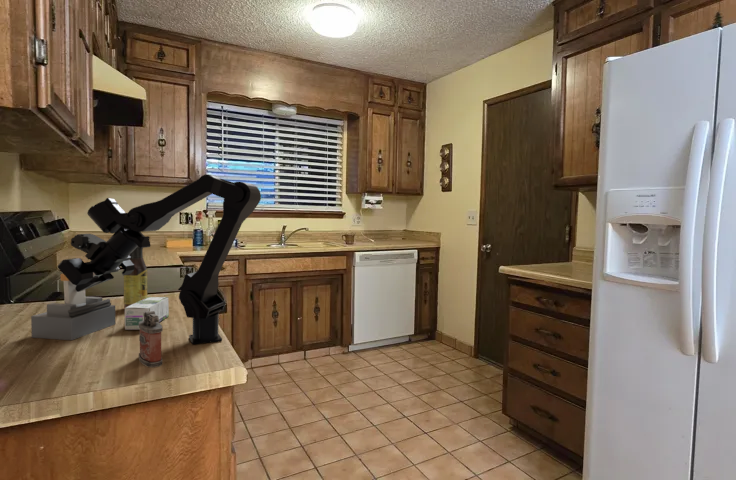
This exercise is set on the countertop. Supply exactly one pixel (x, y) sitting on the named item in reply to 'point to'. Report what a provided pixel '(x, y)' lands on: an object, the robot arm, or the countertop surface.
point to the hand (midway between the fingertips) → (77, 290)
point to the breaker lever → (72, 293)
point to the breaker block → (73, 319)
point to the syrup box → (137, 310)
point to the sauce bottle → (136, 279)
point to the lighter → (150, 340)
